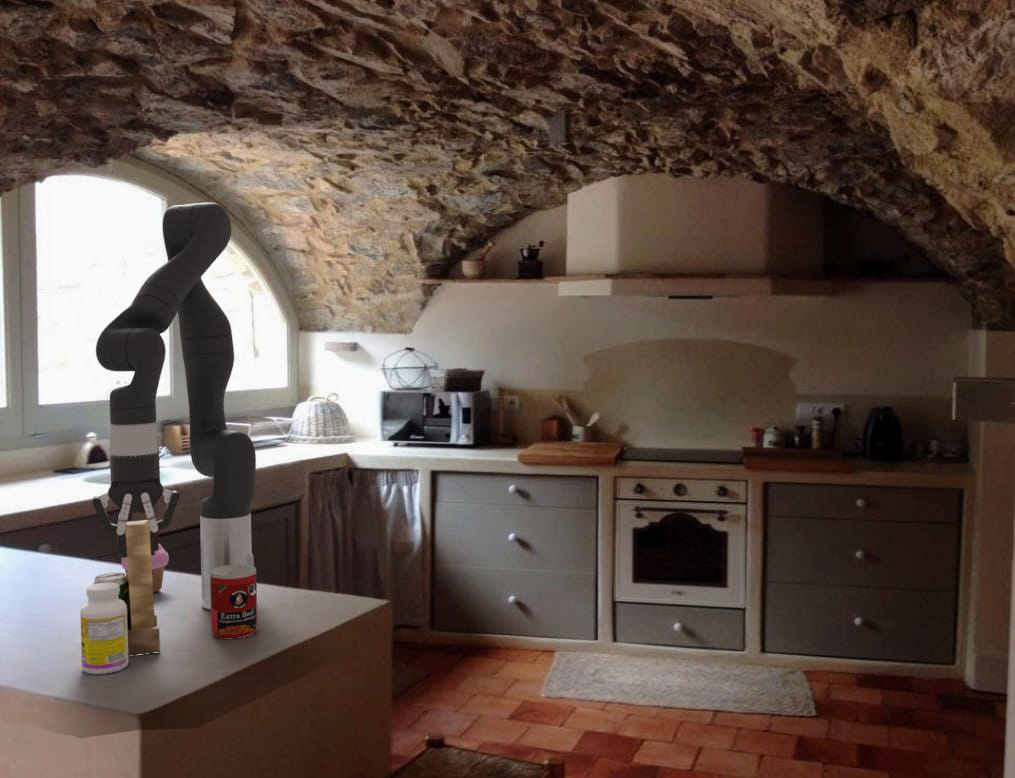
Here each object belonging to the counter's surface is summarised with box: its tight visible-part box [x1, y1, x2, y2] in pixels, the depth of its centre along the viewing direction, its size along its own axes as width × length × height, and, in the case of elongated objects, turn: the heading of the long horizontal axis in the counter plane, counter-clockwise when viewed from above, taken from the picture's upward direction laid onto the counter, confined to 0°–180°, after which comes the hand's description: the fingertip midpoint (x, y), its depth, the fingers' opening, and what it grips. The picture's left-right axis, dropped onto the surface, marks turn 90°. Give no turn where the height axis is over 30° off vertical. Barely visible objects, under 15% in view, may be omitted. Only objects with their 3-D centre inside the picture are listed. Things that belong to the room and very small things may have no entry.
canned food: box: [210, 565, 258, 640], centre depth 171 cm, size 8×8×11 cm
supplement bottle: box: [79, 583, 129, 675], centre depth 153 cm, size 7×7×13 cm
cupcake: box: [121, 543, 170, 593], centre depth 198 cm, size 9×9×10 cm
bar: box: [125, 519, 155, 629], centre depth 163 cm, size 4×4×19 cm
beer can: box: [92, 572, 131, 630], centre depth 162 cm, size 5×5×12 cm
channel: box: [128, 613, 161, 657], centre depth 163 cm, size 10×9×4 cm
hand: (138, 554), depth 163 cm, fingers closed on bar, 3 cm apart
